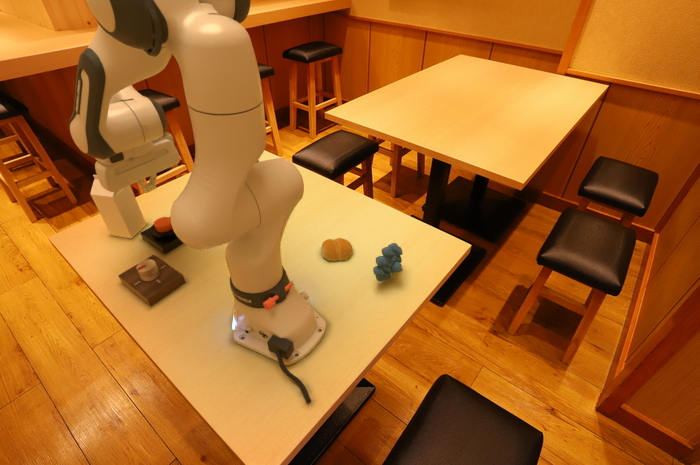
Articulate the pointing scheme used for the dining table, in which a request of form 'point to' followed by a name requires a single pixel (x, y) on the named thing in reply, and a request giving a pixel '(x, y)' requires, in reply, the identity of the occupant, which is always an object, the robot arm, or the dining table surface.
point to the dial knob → (148, 270)
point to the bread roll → (336, 249)
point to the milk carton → (118, 210)
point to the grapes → (388, 262)
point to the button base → (161, 239)
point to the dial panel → (153, 282)
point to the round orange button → (163, 224)
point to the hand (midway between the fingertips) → (150, 190)
